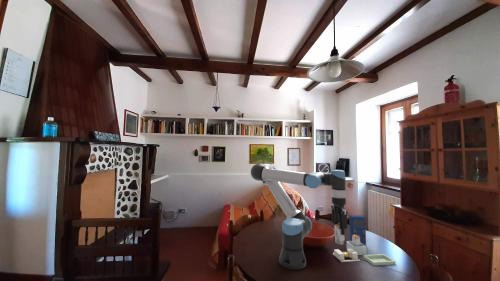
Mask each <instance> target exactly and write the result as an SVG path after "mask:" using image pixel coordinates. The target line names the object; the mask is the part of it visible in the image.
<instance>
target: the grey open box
mask: <svg viewBox="0 0 500 281" xmlns="http://www.w3.org/2000/svg"><path fill="white" fill-rule="evenodd" d="M347 249H353V250H354V251H355V252H357V253H358V256H363V255H368V252H367V251H368V250H367V245H366V246H365V245H364V244H362V243H361V242H360V246H353V245H352V241H350V240H349V241H348V240H346V250H347Z"/></svg>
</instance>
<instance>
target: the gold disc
mask: <svg viewBox="0 0 500 281" xmlns="http://www.w3.org/2000/svg"><path fill="white" fill-rule="evenodd" d="M341 252H342V253H344V258H350V257H349V253H348V252H347V251H341Z"/></svg>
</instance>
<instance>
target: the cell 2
mask: <svg viewBox="0 0 500 281" xmlns="http://www.w3.org/2000/svg"><path fill="white" fill-rule="evenodd" d="M352 245H353V246H360V236H359V235H356V234H353V235H352Z"/></svg>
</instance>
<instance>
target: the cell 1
mask: <svg viewBox="0 0 500 281" xmlns="http://www.w3.org/2000/svg"><path fill="white" fill-rule="evenodd" d="M339 228H340V224H339V223H338V224H335V233H334V238H335V244H337V245H340V246H342V245H344V243H345V241H340V240H339Z"/></svg>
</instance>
